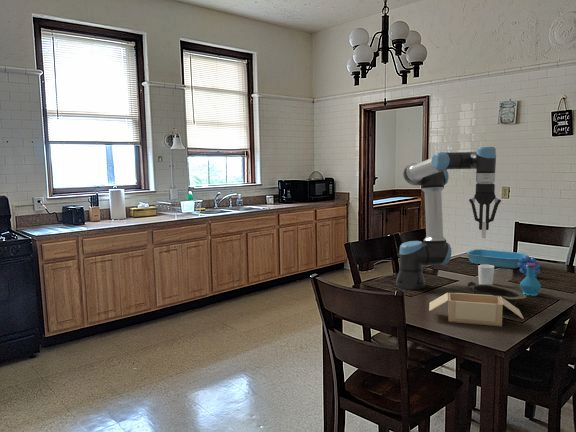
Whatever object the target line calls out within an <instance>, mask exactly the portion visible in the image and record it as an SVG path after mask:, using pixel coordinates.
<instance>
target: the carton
mask: <svg viewBox="0 0 576 432" xmlns="http://www.w3.org/2000/svg"><path fill="white" fill-rule="evenodd" d="M448 298H449V301H447V319H448V323H458V324H465V325H466V324H467V325H469V324H470V325H479V326H491V327H503V311H504V310H503V304H502V302H501V300H500V297H499V296H492V295H481V294H473V293H464V292H448Z"/></svg>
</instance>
